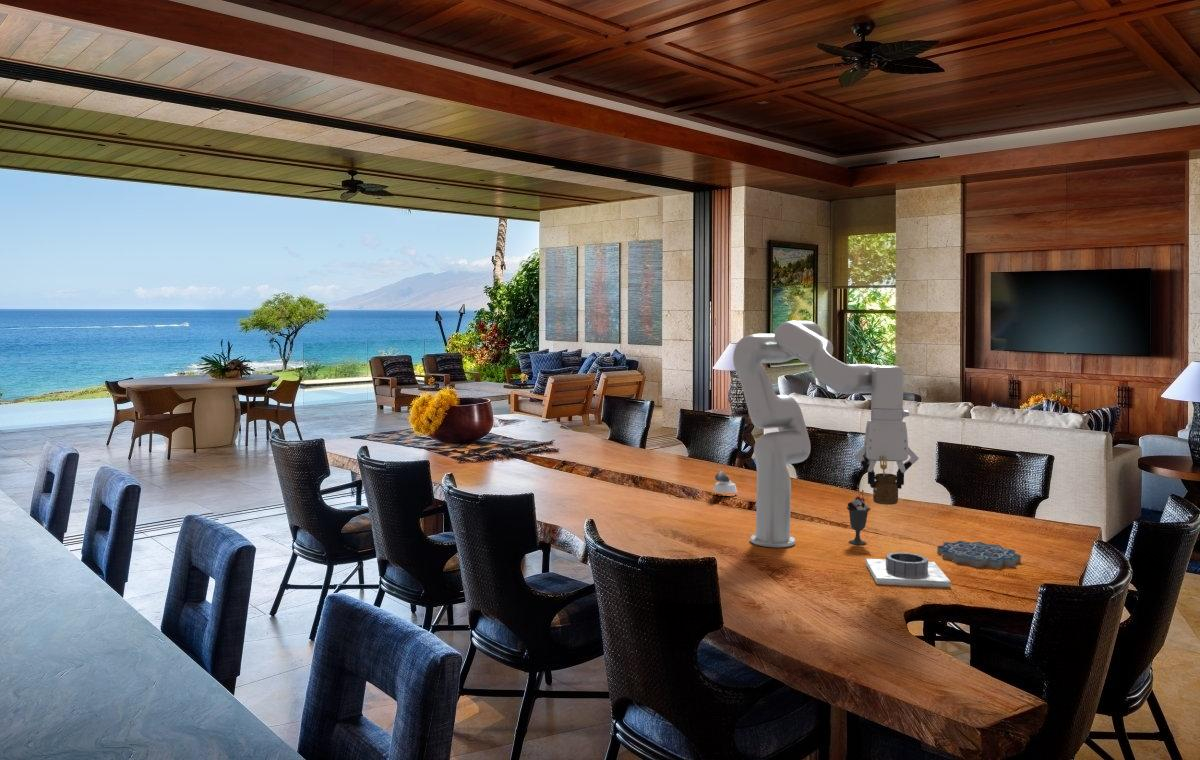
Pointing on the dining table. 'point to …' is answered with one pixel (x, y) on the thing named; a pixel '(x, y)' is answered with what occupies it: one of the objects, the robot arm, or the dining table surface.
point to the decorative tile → (979, 554)
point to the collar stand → (907, 571)
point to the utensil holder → (885, 486)
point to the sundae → (858, 517)
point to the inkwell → (724, 484)
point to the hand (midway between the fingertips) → (885, 486)
